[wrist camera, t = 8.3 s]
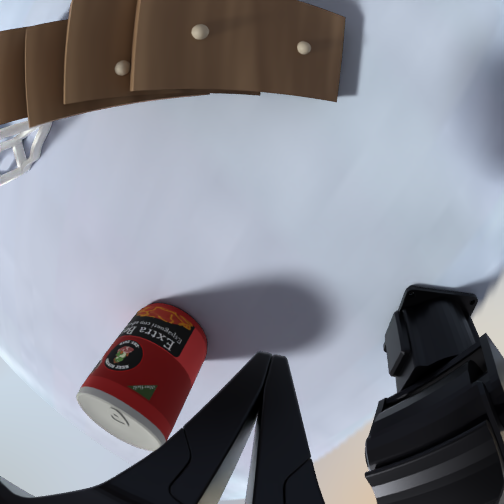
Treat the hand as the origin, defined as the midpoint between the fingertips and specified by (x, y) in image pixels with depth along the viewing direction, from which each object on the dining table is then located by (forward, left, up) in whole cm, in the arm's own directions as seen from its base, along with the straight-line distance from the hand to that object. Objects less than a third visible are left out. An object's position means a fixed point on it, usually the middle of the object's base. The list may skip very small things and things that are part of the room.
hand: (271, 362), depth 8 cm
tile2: (+3, -9, -12) cm, 15 cm away
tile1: (-1, -9, -11) cm, 15 cm away
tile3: (+7, -9, -12) cm, 16 cm away
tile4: (+10, -9, -12) cm, 18 cm away
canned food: (+11, +13, -12) cm, 21 cm away
